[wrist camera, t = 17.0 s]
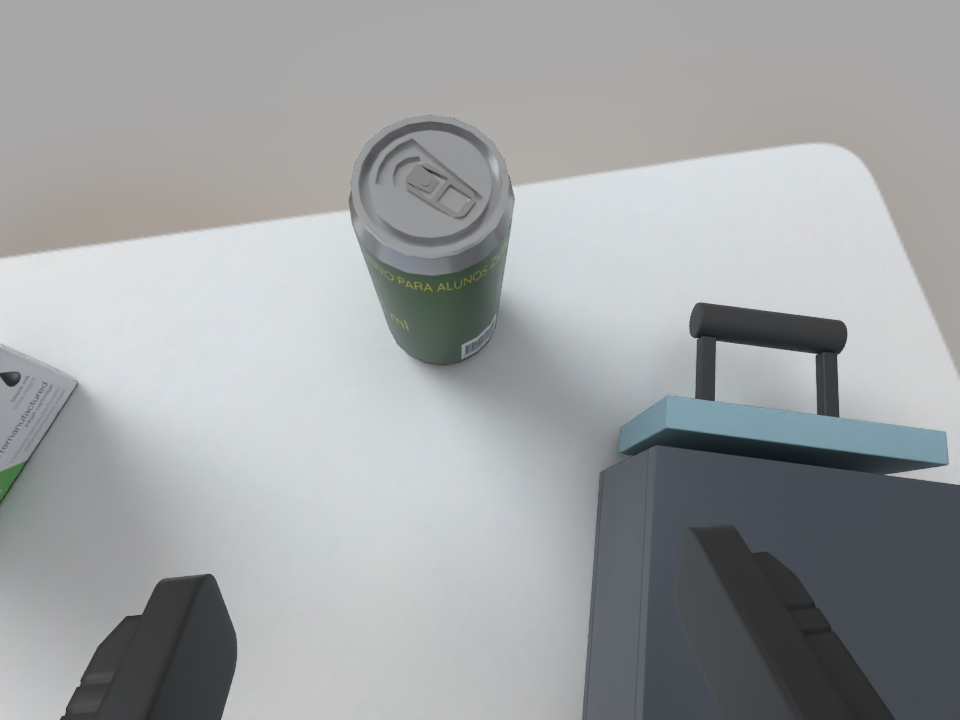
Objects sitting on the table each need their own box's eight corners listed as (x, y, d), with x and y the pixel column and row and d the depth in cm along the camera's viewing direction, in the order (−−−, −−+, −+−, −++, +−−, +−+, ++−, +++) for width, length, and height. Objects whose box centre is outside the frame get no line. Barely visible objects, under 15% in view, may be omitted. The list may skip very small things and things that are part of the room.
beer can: (517, 304, 31) (550, 164, 19) (456, 390, 29) (451, 294, 18) (430, 249, 31) (411, 81, 20) (366, 329, 30) (306, 200, 19)
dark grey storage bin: (599, 471, 28) (655, 444, 20) (837, 502, 28) (991, 488, 20) (579, 752, 25) (635, 858, 17) (847, 789, 25) (1036, 914, 17)
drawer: (626, 327, 29) (672, 267, 23) (830, 353, 29) (935, 301, 23) (604, 677, 25) (653, 726, 19) (842, 709, 25) (976, 770, 19)
